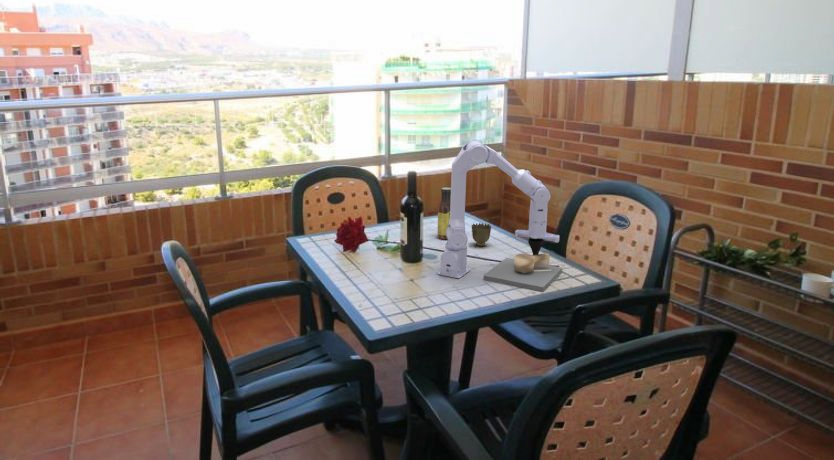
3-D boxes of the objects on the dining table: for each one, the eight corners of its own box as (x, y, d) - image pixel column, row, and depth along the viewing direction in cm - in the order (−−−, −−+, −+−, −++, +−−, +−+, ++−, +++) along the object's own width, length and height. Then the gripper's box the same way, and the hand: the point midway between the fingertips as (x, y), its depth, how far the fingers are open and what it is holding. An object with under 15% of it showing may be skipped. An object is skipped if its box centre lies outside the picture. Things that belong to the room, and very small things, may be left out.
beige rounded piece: (521, 273, 198) (522, 261, 197) (510, 267, 203) (510, 255, 202) (553, 267, 203) (554, 256, 202) (541, 261, 208) (542, 250, 207)
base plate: (543, 291, 189) (543, 285, 189) (483, 279, 199) (483, 273, 198) (562, 271, 206) (562, 266, 206) (506, 261, 216) (506, 256, 215)
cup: (491, 248, 229) (492, 228, 227) (471, 248, 229) (472, 228, 227) (489, 242, 236) (490, 222, 234) (470, 242, 236) (471, 222, 234)
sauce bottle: (452, 240, 238) (453, 190, 232) (436, 239, 239) (437, 190, 233) (454, 235, 244) (455, 187, 238) (438, 234, 245) (439, 186, 240)
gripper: (512, 220, 202) (511, 259, 206) (556, 226, 195) (553, 266, 199) (519, 215, 208) (517, 253, 212) (562, 221, 201) (559, 260, 205)
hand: (535, 259), depth 206 cm, fingers closed
